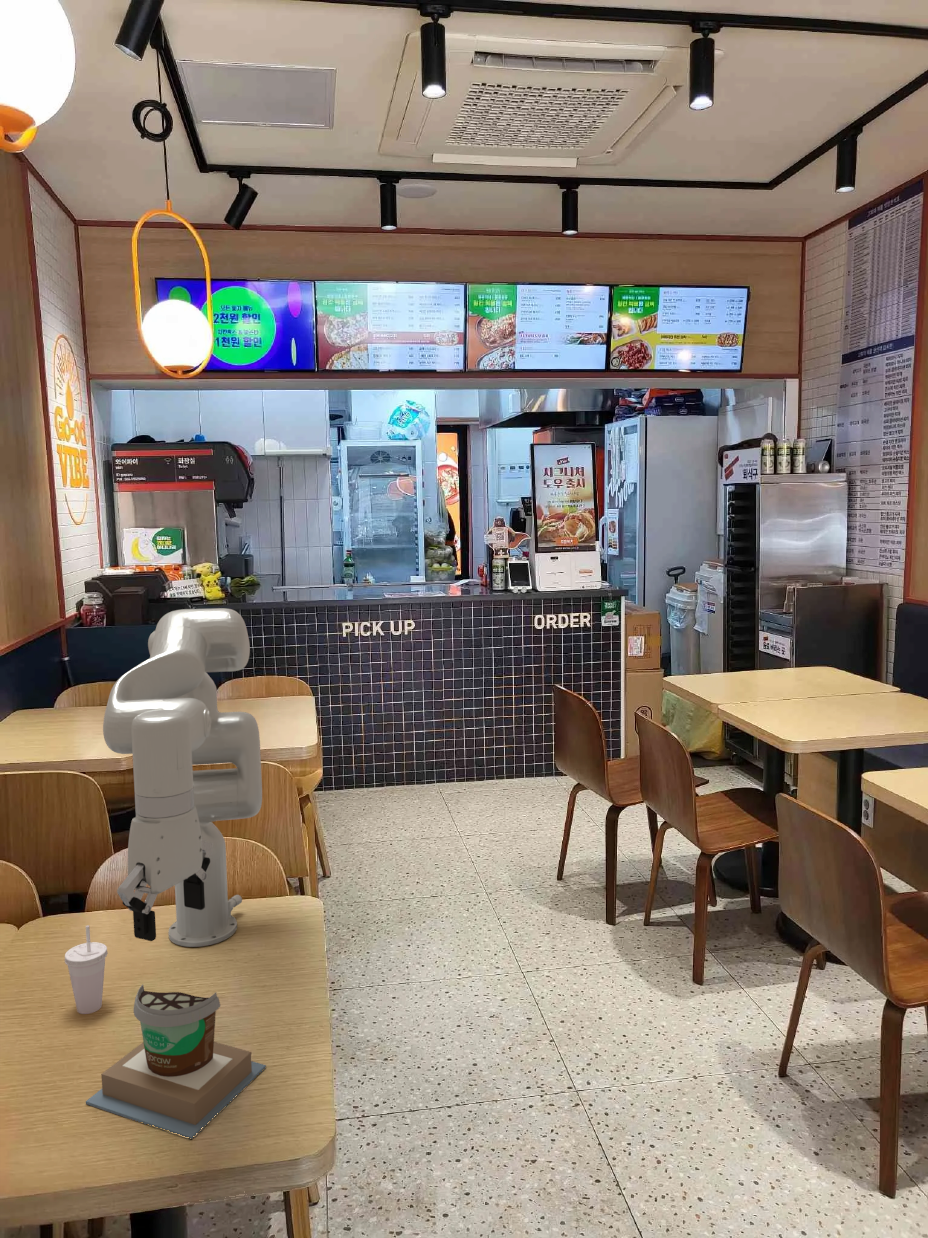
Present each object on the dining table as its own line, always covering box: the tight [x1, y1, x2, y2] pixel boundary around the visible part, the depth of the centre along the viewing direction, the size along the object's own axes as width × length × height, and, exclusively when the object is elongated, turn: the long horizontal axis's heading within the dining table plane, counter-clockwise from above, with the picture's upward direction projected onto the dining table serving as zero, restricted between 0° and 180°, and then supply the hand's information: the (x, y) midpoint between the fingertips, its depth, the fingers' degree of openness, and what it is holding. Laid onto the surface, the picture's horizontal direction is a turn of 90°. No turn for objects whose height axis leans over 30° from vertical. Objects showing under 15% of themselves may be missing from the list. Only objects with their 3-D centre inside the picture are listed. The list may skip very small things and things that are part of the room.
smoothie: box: [64, 925, 108, 1015], centre depth 142 cm, size 6×6×14 cm
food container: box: [133, 984, 221, 1077], centre depth 121 cm, size 12×6×10 cm, turn 79°
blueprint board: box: [85, 1041, 267, 1140], centre depth 123 cm, size 16×18×4 cm
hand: (170, 922), depth 121 cm, fingers open, 9 cm apart
